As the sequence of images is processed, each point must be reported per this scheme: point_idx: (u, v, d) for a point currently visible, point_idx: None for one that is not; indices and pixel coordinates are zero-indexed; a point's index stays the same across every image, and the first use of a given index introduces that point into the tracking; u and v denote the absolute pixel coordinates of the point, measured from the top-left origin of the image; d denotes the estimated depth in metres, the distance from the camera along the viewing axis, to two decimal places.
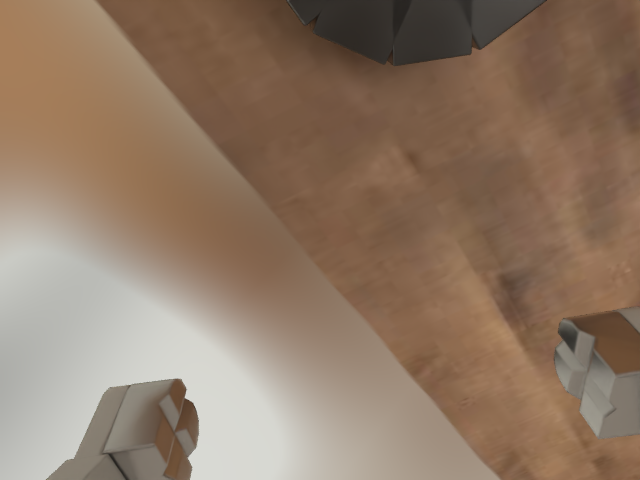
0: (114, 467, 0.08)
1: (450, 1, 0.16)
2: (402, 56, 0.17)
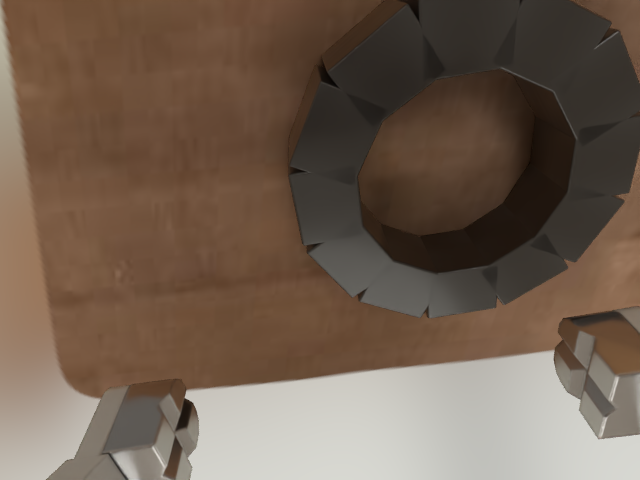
0: (114, 467, 0.08)
1: (571, 204, 0.17)
2: (575, 254, 0.18)
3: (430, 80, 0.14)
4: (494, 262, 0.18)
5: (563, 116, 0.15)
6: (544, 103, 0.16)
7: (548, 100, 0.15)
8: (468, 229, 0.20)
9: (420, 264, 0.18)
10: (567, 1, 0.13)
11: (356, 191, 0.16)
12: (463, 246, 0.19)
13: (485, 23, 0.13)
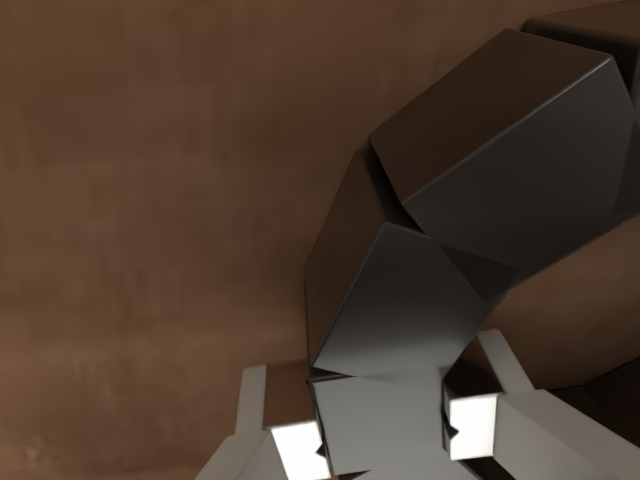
0: (273, 444, 0.08)
1: None
2: None
3: (627, 215, 0.06)
4: None
5: None
6: None
7: None
8: (593, 390, 0.12)
9: None
10: None
11: (439, 400, 0.08)
12: None
13: None
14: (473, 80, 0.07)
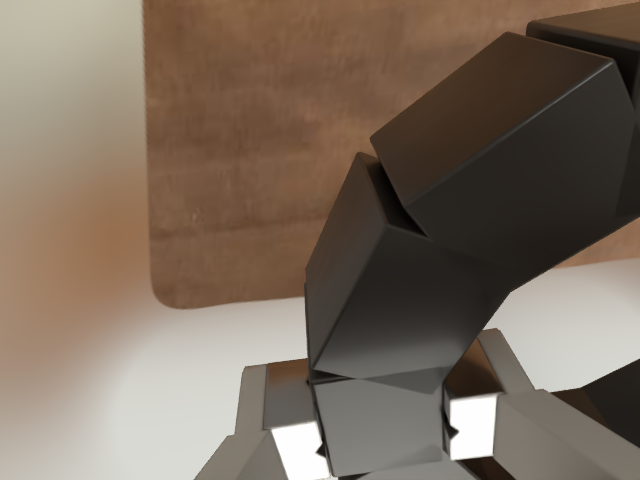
0: (273, 444, 0.08)
1: None
2: None
3: (628, 218, 0.06)
4: None
5: None
6: None
7: None
8: (591, 391, 0.12)
9: None
10: None
11: (439, 402, 0.08)
12: None
13: None
14: (474, 83, 0.07)
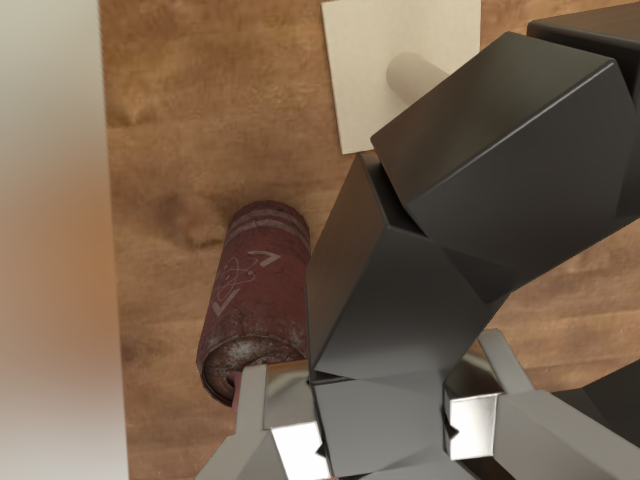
0: (273, 444, 0.08)
1: None
2: None
3: (629, 218, 0.06)
4: None
5: None
6: None
7: None
8: (592, 391, 0.12)
9: None
10: None
11: (440, 403, 0.08)
12: None
13: None
14: (475, 83, 0.07)
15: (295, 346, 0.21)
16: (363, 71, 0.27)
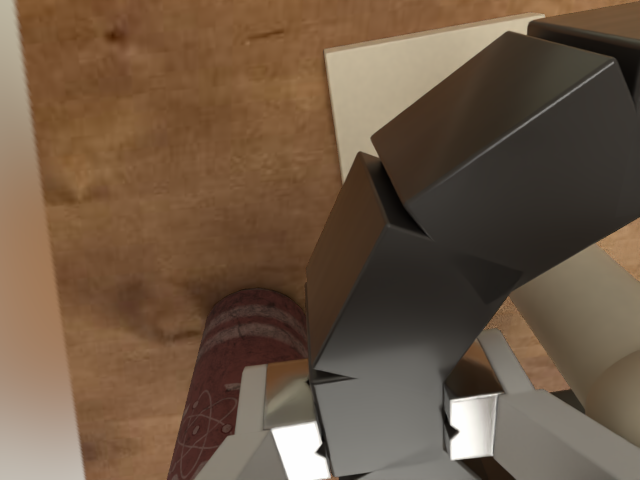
0: (273, 443, 0.08)
1: None
2: None
3: (629, 218, 0.06)
4: None
5: None
6: None
7: None
8: None
9: None
10: None
11: (440, 402, 0.08)
12: None
13: None
14: (475, 82, 0.07)
15: None
16: None
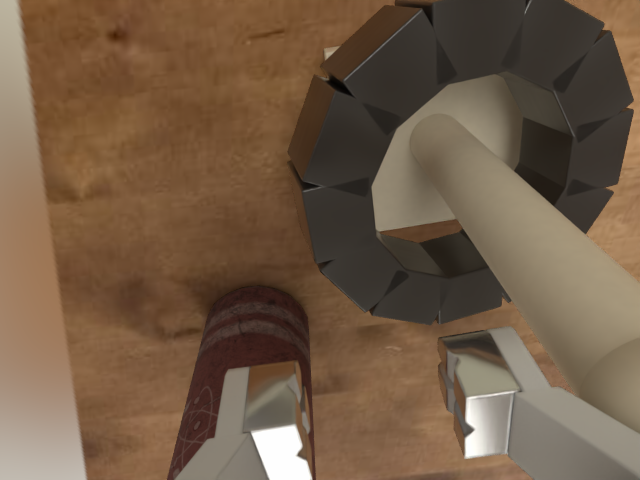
0: (253, 446, 0.08)
1: (568, 199, 0.17)
2: None
3: (443, 85, 0.14)
4: None
5: (562, 114, 0.15)
6: (539, 103, 0.16)
7: (545, 100, 0.16)
8: (464, 231, 0.20)
9: (430, 271, 0.18)
10: (567, 4, 0.13)
11: (370, 202, 0.15)
12: (464, 249, 0.19)
13: (494, 27, 0.13)
14: (370, 29, 0.14)
15: None
16: None
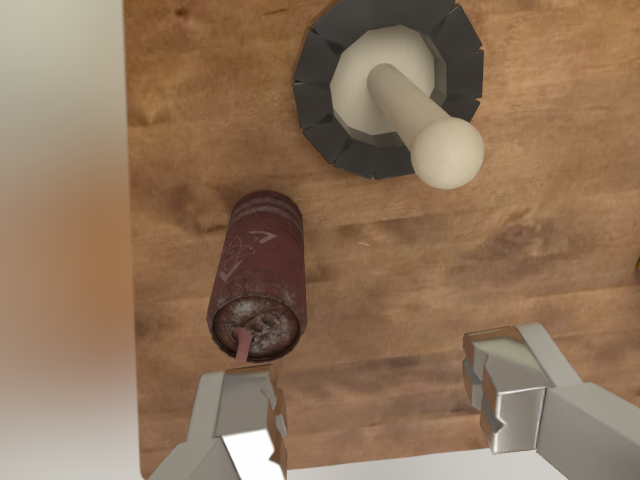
0: (224, 451, 0.08)
1: (450, 104, 0.30)
2: None
3: (365, 30, 0.27)
4: None
5: (438, 51, 0.28)
6: (431, 46, 0.29)
7: (431, 43, 0.28)
8: None
9: (368, 143, 0.31)
10: None
11: (329, 94, 0.29)
12: (396, 137, 0.32)
13: (390, 0, 0.26)
14: (333, 1, 0.28)
15: (288, 305, 0.25)
16: (346, 79, 0.31)
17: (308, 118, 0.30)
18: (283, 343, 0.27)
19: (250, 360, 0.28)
